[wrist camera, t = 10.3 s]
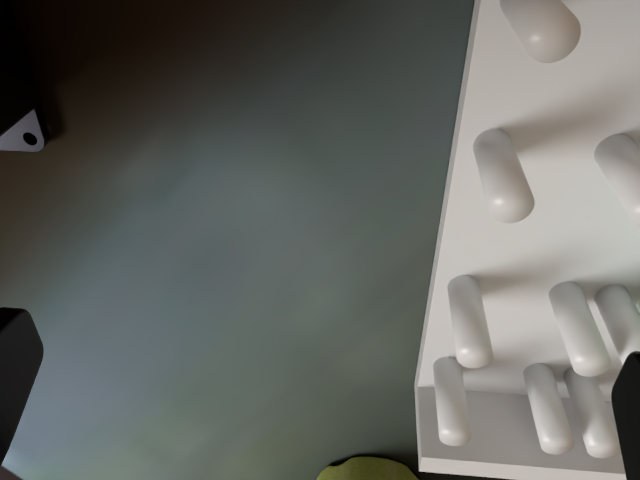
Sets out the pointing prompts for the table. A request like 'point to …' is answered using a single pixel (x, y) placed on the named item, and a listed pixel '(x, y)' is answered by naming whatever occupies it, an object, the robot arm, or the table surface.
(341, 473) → the plant pot
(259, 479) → the table surface
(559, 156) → the dish rack
